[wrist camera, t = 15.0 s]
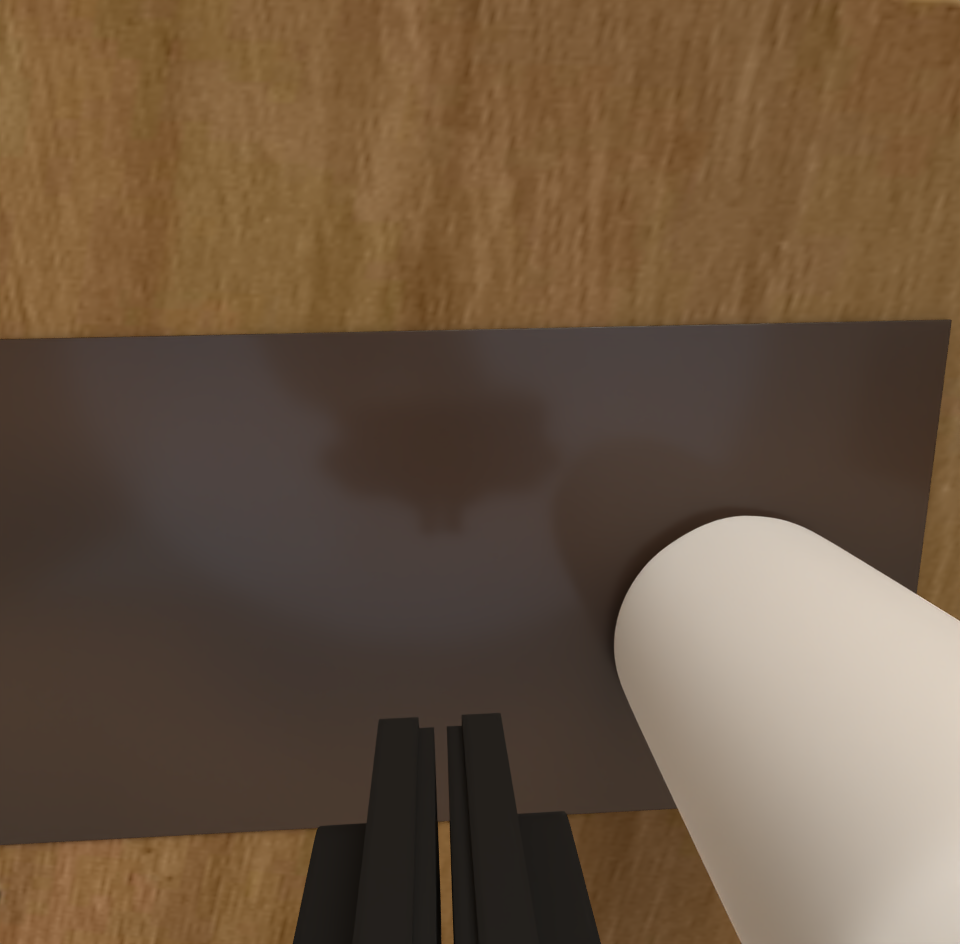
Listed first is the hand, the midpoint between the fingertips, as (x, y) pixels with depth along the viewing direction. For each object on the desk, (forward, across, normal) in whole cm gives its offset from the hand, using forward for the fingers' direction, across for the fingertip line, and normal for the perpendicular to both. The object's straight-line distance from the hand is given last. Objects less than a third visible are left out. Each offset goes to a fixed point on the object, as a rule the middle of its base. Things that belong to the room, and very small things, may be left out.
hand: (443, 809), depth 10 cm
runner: (+8, +5, 0) cm, 10 cm away
